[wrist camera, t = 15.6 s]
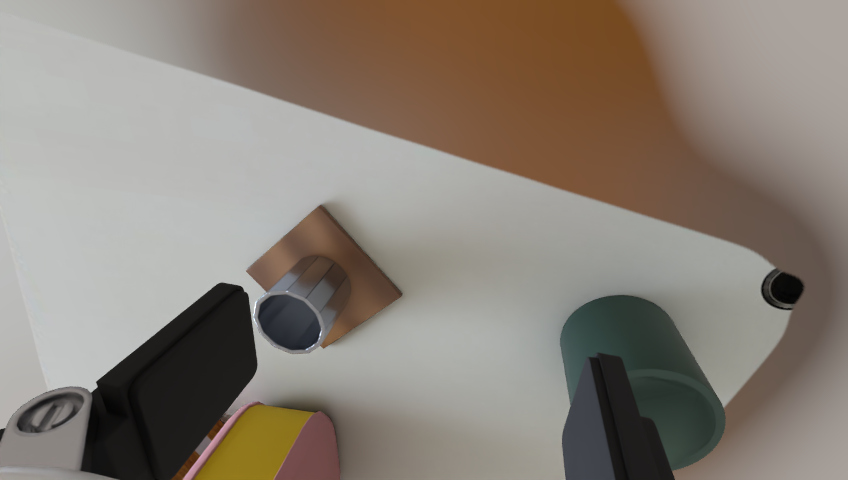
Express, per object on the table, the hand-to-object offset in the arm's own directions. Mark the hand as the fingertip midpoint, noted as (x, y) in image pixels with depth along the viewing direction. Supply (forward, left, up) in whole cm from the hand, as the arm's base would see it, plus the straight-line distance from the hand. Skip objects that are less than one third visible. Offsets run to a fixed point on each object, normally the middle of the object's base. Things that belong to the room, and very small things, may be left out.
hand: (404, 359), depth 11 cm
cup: (+21, +1, -26) cm, 34 cm away
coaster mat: (+21, +1, -27) cm, 34 cm away
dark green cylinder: (+1, +23, -27) cm, 35 cm away
